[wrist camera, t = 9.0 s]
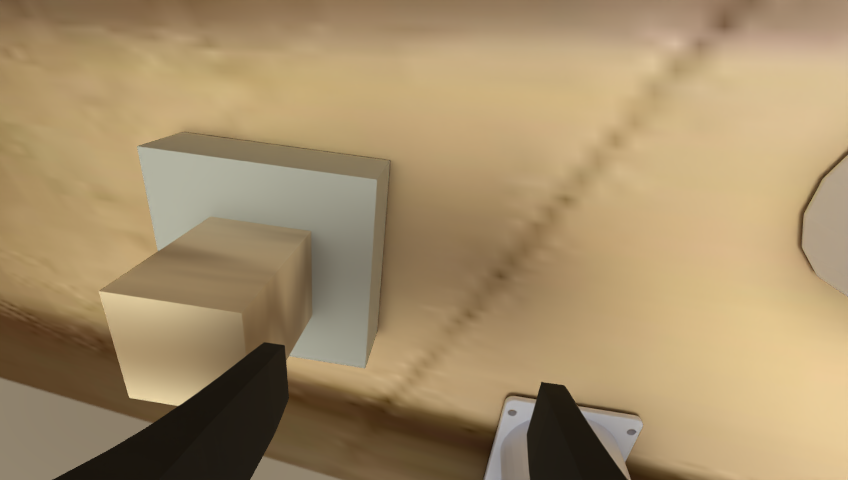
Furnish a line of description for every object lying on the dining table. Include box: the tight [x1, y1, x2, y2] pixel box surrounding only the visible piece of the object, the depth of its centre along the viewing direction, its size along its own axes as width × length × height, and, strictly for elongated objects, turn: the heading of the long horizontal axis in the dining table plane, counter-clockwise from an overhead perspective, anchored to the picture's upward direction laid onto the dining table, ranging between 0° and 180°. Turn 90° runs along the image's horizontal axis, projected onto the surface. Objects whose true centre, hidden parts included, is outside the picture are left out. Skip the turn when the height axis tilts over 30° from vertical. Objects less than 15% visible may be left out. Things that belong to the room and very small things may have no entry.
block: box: [99, 217, 312, 406], centre depth 16 cm, size 4×4×6 cm
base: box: [137, 132, 390, 368], centre depth 20 cm, size 10×10×3 cm
